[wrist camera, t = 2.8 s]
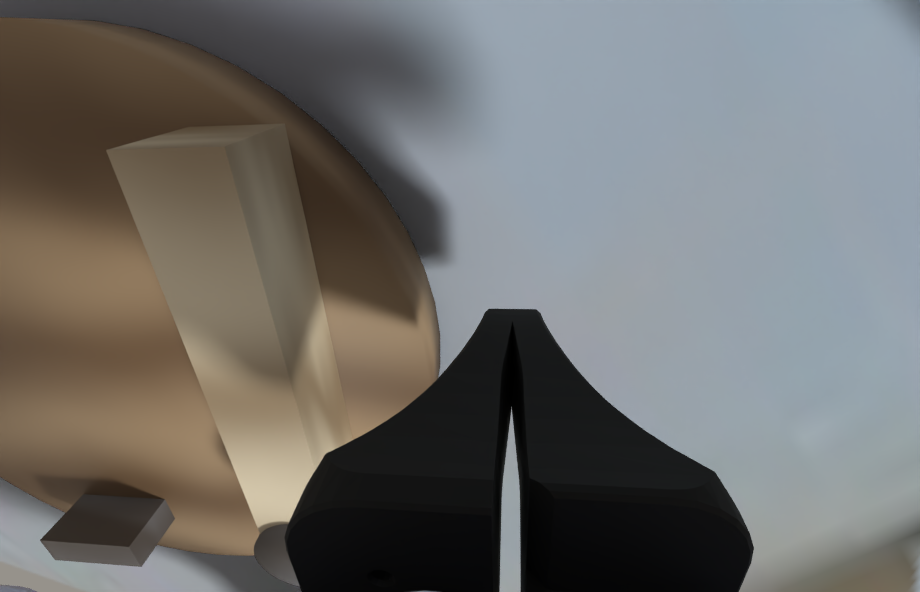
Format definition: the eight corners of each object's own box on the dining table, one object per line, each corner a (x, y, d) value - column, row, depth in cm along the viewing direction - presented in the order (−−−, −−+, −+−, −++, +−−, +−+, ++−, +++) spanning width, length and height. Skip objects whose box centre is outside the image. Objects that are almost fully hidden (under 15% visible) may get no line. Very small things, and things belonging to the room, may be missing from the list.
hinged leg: (376, 514, 18) (354, 591, 15) (300, 510, 18) (266, 584, 15) (297, 123, 11) (233, 148, 8) (177, 127, 11) (82, 152, 9)
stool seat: (454, 519, 21) (441, 625, 17) (58, 494, 23) (-31, 583, 20) (413, -4, 12) (362, -23, 8) (-256, 39, 14) (-553, 40, 10)
